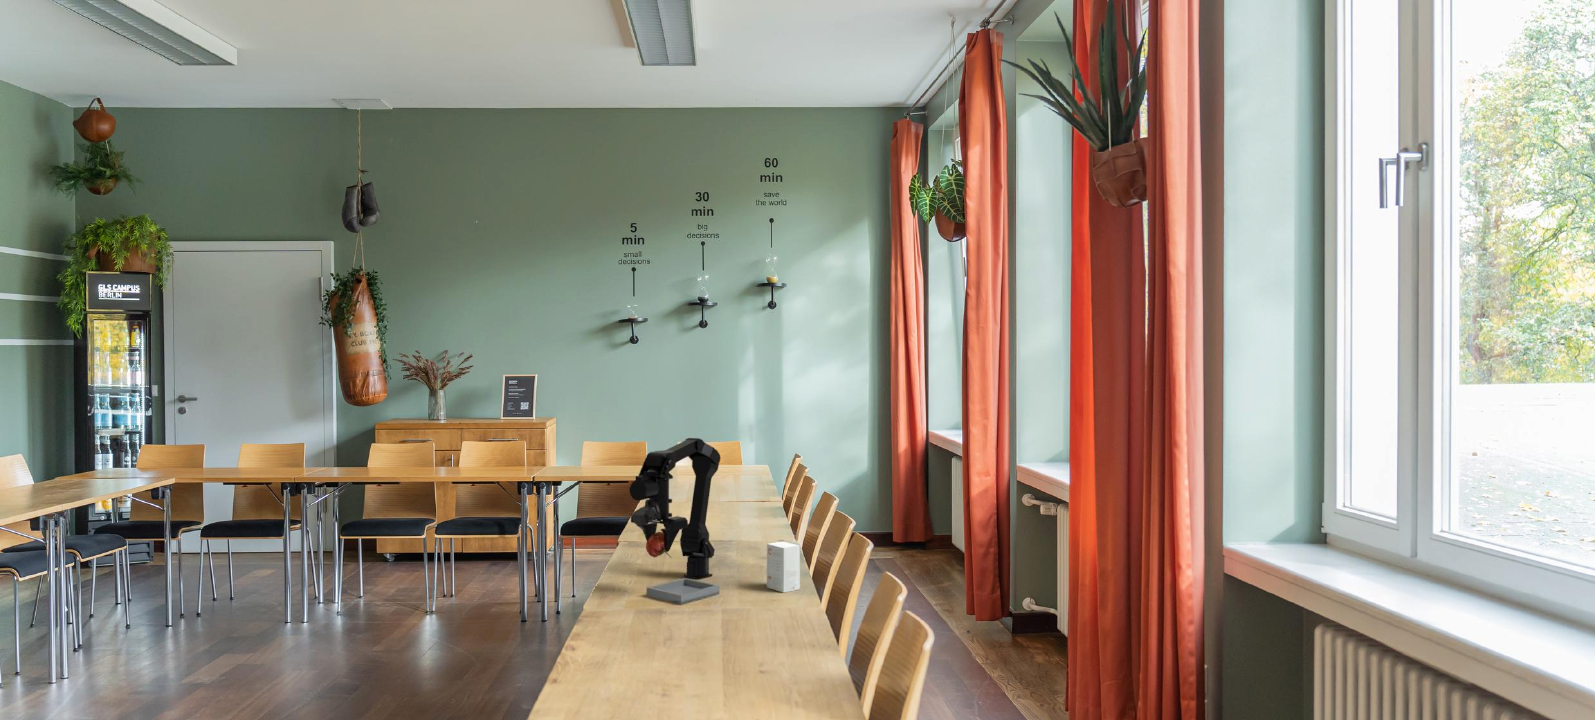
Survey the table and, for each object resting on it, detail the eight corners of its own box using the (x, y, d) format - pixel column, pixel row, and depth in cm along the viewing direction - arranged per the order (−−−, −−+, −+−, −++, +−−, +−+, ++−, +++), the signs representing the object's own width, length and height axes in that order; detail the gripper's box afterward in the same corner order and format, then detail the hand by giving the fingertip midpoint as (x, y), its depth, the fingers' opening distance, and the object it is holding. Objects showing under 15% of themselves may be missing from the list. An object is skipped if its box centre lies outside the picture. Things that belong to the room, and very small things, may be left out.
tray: (684, 586, 277) (684, 577, 277) (719, 593, 269) (719, 585, 269) (646, 596, 266) (646, 587, 266) (681, 604, 257) (681, 595, 257)
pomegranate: (674, 562, 274) (652, 538, 278) (684, 544, 271) (662, 521, 275) (657, 569, 268) (634, 545, 271) (667, 552, 265) (645, 527, 268)
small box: (800, 589, 274) (800, 544, 274) (783, 593, 270) (783, 547, 270) (783, 584, 280) (783, 540, 280) (766, 587, 276) (766, 543, 276)
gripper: (616, 495, 271) (616, 549, 271) (659, 502, 259) (659, 559, 259) (646, 491, 280) (645, 543, 280) (689, 497, 268) (688, 552, 268)
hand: (658, 549), depth 272 cm, fingers closed on pomegranate, 7 cm apart
